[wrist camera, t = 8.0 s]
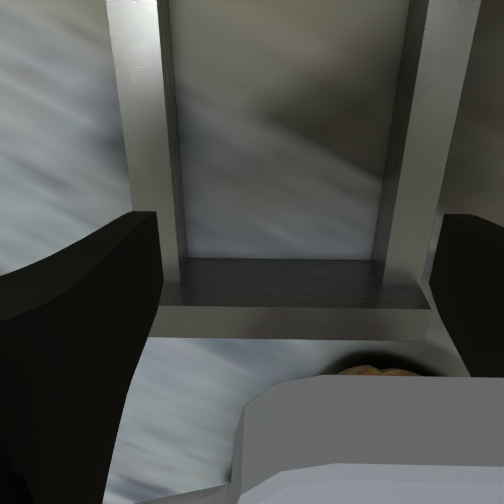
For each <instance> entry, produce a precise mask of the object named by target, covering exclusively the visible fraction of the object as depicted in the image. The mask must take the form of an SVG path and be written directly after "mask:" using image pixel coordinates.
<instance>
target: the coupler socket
mask: <svg viewBox="0 0 504 504" xmlns="http://www.w3.org/2000/svg"><path fill="white" fill-rule="evenodd" d="M480 3H481V0H410V6H409V13H408V19H407V26H406V33H405V40H404V46H403V53H402V60H401V66H400V73H399V80H398V87H397V93H396V100H395V107H394V113H393V120H392V127H391V134H390V140H389V147H388V154H387V161H386V167H385V174H384V181H383V187H382V194H381V201H380V208H379V214H378V221H377V228H376V235H375V241H374V248H373V255H372V261H355V260H275V259H194V258H187V249H186V235H185V222H184V208H183V194H182V181H181V167H180V154H179V140H178V126H177V113H176V99H175V86H174V72H173V58H172V45H171V31H170V18H169V4H168V0H106V6H107V14H108V21H109V29H110V36H111V44H112V52H113V59H114V67H115V75H116V82H117V90H118V98H119V105H120V113H121V121H122V128H123V136H124V143H125V151H126V159H127V166H128V174H129V182H130V189H131V197H132V205H133V211H156V212H157V221H158V230H159V239H160V248H161V257H162V266H163V276H164V282H163V287H162V292H161V297H160V302H159V306H158V311H157V313H156V316H155V319H154V322H153V325H152V327H151V330H150V333H149V335H148V337H174V338H242V339H310V340H378V341H424V340H425V336H426V332H427V327H428V323H429V319H430V315H431V310H432V309H431V307H430V305H429V303H428V301H427V300H426V298H425V296H424V294H423V292H422V290H421V288H420V284H421V279H422V274H423V270H424V265H425V260H426V256H427V251H428V246H429V242H430V237H431V232H432V228H433V223H434V218H435V214H436V209H437V204H438V200H439V195H440V190H441V186H442V181H443V176H444V171H445V167H446V162H447V157H448V153H449V148H450V143H451V139H452V134H453V129H454V125H455V120H456V115H457V111H458V106H459V101H460V97H461V92H462V87H463V83H464V78H465V73H466V69H467V64H468V59H469V54H470V50H471V45H472V40H473V36H474V31H475V26H476V22H477V17H478V12H479V8H480Z"/></svg>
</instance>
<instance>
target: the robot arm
mask: <svg viewBox="0 0 504 504" xmlns="http://www.w3.org/2000/svg"><path fill="white" fill-rule="evenodd" d="M163 282H164V276H163V266H162V257H161V248H160V239H159V230H158V221H157V212H156V211H131V212H129V213H126V214H124V215H122V216H121V217H119V218H117V219H115V220H114V221H112V222H110V223H109V224H107V225H105V226H103V227H102V228H100V229H98V230H97V231H95V232H93V233H92V234H90V235H88V236H87V237H85V238H83V239H81V240H79V241H77V242H76V243H74V244H72V245H70V246H68V247H66V248H64V249H62V250H60V251H59V252H57V253H55V254H53V255H51V256H49V257H47V258H44V259H42V260H40V261H38V262H36V263H33V264H31V265H28V266H26V267H23V268H21V269H18V270H16V271H13V272H11V273H8V274H5V275H2V276H0V504H102V502H103V497H104V492H105V487H106V482H107V477H108V472H109V468H110V463H111V459H112V454H113V450H114V446H115V441H116V437H117V432H118V428H119V424H120V420H121V416H122V412H123V408H124V404H125V400H126V396H127V393H128V390H129V387H130V383H131V380H132V377H133V375H134V372H135V370H136V367H137V364H138V362H139V359H140V356H141V354H142V351H143V348H144V346H145V343H146V341H147V338H148V335H149V333H150V330H151V327H152V325H153V322H154V319H155V316H156V313H157V311H158V306H159V302H160V297H161V292H162V287H163ZM429 285H430V288H431V291H432V295H433V298H434V301H435V304H436V307H437V310H438V313H439V315H440V317H441V319H442V321H443V324H444V325H445V327H446V329H447V331H448V333H449V335H450V337H451V339H452V341H453V343H454V345H455V347H456V349H457V351H458V353H459V355H460V356H461V358H462V360H463V362H464V364H465V366H466V368H467V370H468V372H469V374H470V376H471V377H422V376H364V375H319V376H313V377H308V378H302V379H296V380H291V381H285V382H280V383H277V384H275V385H274V386H272V387H271V388H270V389H268V390H267V391H265V392H264V393H262V394H261V395H260V396H258V397H257V398H255V399H254V400H252V401H251V402H249V403H248V404H247V405H245V407H244V410H243V412H242V415H241V418H240V421H239V423H238V426H237V429H236V431H235V434H234V446H233V460H232V475H231V482H230V483H229V484H227V485H222V486H217V487H212V488H207V489H203V490H198V491H193V492H188V493H183V494H179V495H174V496H169V497H164V498H159V499H155V500H150V501H145V502H140V503H135V504H504V227H501V226H499V225H497V224H495V223H492V222H490V221H488V220H485V219H483V218H480V217H477V216H474V215H470V214H444V218H443V222H442V227H441V231H440V236H439V240H438V245H437V249H436V254H435V258H434V263H433V268H432V272H431V277H430V281H429Z"/></svg>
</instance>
